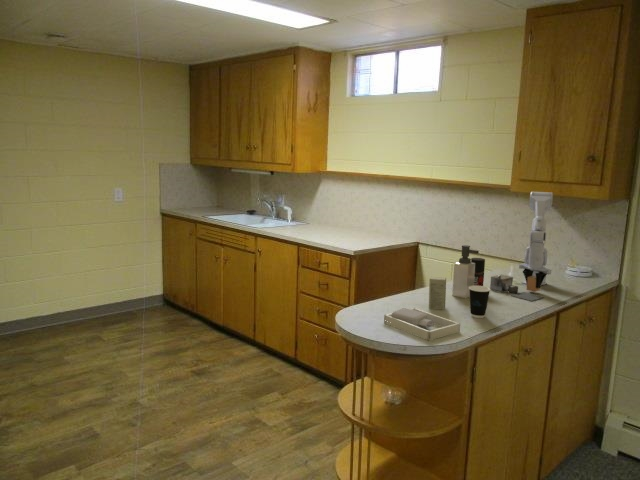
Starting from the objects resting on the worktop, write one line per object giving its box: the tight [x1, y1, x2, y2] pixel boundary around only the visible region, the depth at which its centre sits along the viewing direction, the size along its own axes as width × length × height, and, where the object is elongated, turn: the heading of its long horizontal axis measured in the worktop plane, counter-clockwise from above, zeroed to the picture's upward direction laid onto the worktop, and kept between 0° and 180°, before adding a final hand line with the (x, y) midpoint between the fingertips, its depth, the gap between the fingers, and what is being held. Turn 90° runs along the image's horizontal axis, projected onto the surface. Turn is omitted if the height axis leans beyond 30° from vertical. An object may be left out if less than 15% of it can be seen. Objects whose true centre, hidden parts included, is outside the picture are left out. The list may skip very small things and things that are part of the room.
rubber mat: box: [510, 291, 546, 302], centre depth 227 cm, size 10×10×1 cm
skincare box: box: [428, 276, 447, 311], centre depth 208 cm, size 6×4×12 cm
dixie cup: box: [469, 285, 492, 319], centre depth 198 cm, size 8×8×11 cm
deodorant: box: [470, 257, 486, 286], centre depth 233 cm, size 6×6×15 cm
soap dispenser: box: [452, 244, 480, 299], centre depth 225 cm, size 6×9×22 cm
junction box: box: [489, 274, 514, 294], centre depth 238 cm, size 9×7×7 cm
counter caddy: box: [383, 307, 461, 342], centre depth 185 cm, size 16×22×3 cm
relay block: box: [526, 276, 541, 293], centre depth 234 cm, size 4×4×6 cm
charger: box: [391, 307, 437, 329], centre depth 185 cm, size 5×9×15 cm
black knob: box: [507, 284, 519, 295], centre depth 233 cm, size 4×4×3 cm
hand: (533, 286), depth 234 cm, fingers closed on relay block, 4 cm apart
